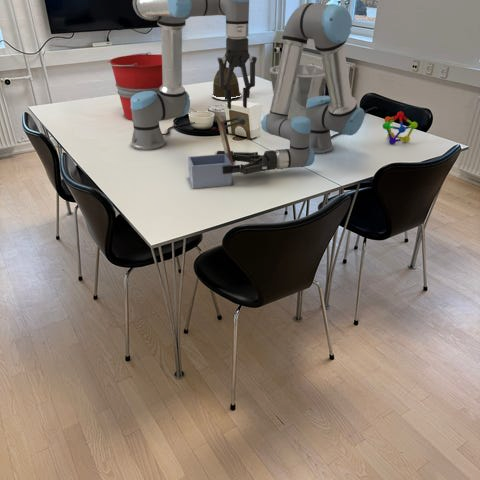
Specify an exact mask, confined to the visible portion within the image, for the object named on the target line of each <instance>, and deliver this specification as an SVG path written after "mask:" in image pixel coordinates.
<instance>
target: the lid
mask: <svg viewBox="0 0 480 480" xmlns="http://www.w3.org/2000/svg"><path fill="white" fill-rule="evenodd" d="M215 119H216V122H217V126H218V131H219V134H220V139H221V143H222V148H223V151H224V152H225V154H226V156H227V157H228V159H229V161H230V162H232V161H233V160H232V155H231V151H232V150H231V147H230V142H229V139H228V134H227V130H226V128H230V127H234V126H237V125H241V126H244V125H246V120H245V118H244V117H243V116H242V115H241V114H237V115H235V117H233V118H229V119H227V120H224V119H223V118H222V117H221V115H220V114H219V113H218V112H217V113H215ZM235 121H236V122H235ZM227 123H229V124H227ZM225 124H226V125H225ZM232 163H233V162H232Z"/></svg>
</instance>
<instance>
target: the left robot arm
mask: <svg viewBox="0 0 480 480" xmlns="http://www.w3.org/2000/svg"><path fill="white" fill-rule="evenodd" d="M132 7H133V10H134V11H135V13H136V15H137V16H138V17H140V18H141V19H142V20H143V19H144V20H146V21H156V22H157V23H156V24H157V25H158V26H159V27H160V34H161V36H160V37H161V55H162V81H163V84H162V85H161V86H160V88H159V94H156V92H154V91H143V92H139V93H137V94H135V95H133V96H132V97H131V111H132V118H133V120H132V125H133V132H132V135H131V147H132V148H134V149H135V150H141V151H151V150H153V151H154V150H157V149H161V148H163V147H164V146H165V144H166V140H165V137H164V136H168V135H169V134H170V130H171V129H173V128H174V129H175V128H178V127H183V126H186V125H191V124H190V122H191V121H190V122H189V121H188V122H185V123H181V124H176V125H172V126H170V127H168V128H167V132H165V133H163V132H162V130H161V127H160V121H166V120H171V119H179V118H181V117H184V116H187V115H188V113H189V111H190V107H191V99H190V94H189V93H188V92H187V90H186V88H185V87H184V86H183V67H182V66H183V29H184V27H185V26H186V20H188V19H189V18H193V17H213V16H214V17H215V16H225V37H226V38H225V53H224V55H223V56H221V57H217V58H216V59H217V63H218V70H219V86H220V87H221V88H222V89H224V93H225V99H227V100H226V103H227V104H226V105H227V109H228V110H231V109H232V99H231V90H230V89H229V86H230V82H231V78H232V74H233V72H234V71H235V68H240V71H241V75H242V78H243V83H244V87H242V107H243V108H244V109H247V108H248V99H250V92H251V91H250V90H251V88H254V87H255V86H256V63H257V60H258V58H257V57H256V56H255V55H250V52H249V38H248V37H249V21H250V20H249V19H250V18H249V17H250V0H132ZM225 60H227V63H228V67H227V68H228V72H227V77H226V81H225V85H224V63H225ZM248 61H249V77H248V72H247V67H246V63H247V62H248Z"/></svg>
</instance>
